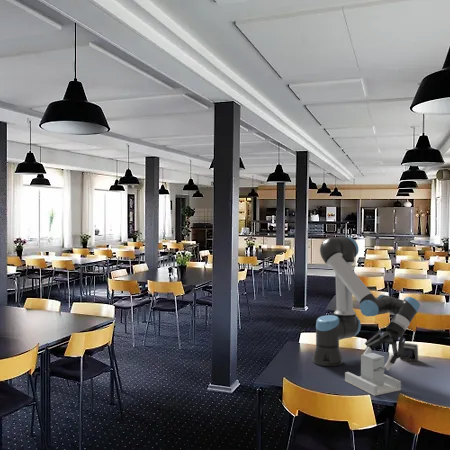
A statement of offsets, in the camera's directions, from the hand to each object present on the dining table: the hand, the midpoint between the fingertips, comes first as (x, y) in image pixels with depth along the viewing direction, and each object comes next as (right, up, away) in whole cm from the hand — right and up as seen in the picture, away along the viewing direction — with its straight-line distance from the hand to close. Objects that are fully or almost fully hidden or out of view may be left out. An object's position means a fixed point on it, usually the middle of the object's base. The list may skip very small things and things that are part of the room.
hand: (374, 364), depth 205 cm
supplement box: (-1, -9, +1) cm, 9 cm away
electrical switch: (+30, -9, +36) cm, 48 cm away
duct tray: (-1, -10, +1) cm, 10 cm away
